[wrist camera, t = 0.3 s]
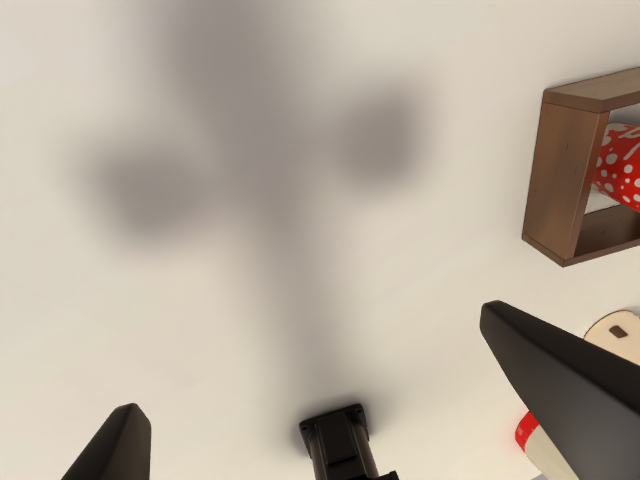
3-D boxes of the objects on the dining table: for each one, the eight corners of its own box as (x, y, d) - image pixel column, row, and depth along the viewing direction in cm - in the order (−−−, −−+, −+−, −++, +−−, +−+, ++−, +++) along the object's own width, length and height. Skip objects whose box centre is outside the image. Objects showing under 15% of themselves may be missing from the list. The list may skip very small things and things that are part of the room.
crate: (645, 204, 29) (702, 227, 26) (521, 239, 28) (562, 268, 25) (699, 52, 23) (784, 54, 20) (544, 90, 22) (602, 100, 19)
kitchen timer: (606, 424, 49) (735, 559, 36) (515, 460, 49) (614, 609, 36) (622, 364, 42) (791, 508, 29) (515, 407, 41) (639, 570, 29)
